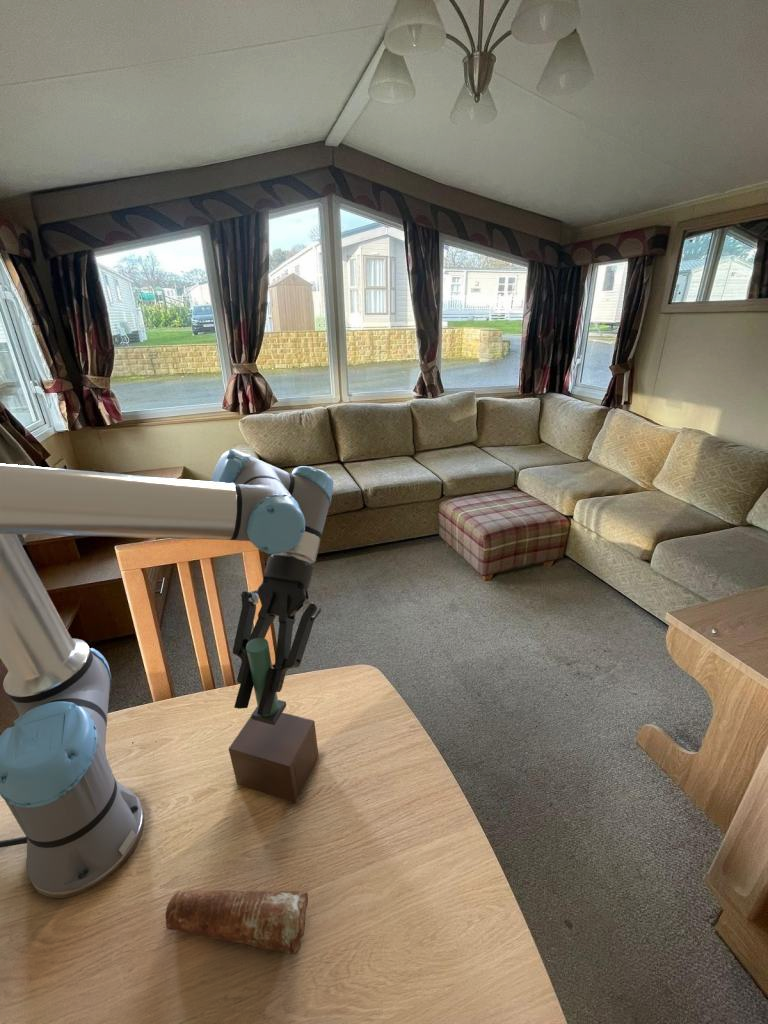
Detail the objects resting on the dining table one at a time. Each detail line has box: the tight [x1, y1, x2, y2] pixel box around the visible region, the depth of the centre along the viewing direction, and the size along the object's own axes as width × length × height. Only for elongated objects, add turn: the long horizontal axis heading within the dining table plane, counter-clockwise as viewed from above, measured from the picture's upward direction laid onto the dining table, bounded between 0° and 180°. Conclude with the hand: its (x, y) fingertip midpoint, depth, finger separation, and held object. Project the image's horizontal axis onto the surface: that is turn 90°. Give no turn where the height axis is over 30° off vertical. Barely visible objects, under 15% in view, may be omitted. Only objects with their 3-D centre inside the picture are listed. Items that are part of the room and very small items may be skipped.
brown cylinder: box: [165, 889, 309, 955], centre depth 63 cm, size 6×19×6 cm, turn 81°
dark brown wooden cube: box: [228, 711, 320, 804], centre depth 82 cm, size 11×9×9 cm
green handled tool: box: [246, 638, 287, 725], centre depth 74 cm, size 4×4×14 cm
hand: (252, 710), depth 72 cm, fingers closed on green handled tool, 3 cm apart
